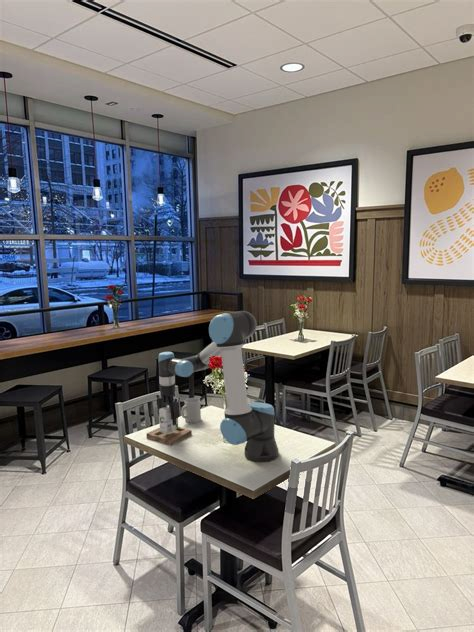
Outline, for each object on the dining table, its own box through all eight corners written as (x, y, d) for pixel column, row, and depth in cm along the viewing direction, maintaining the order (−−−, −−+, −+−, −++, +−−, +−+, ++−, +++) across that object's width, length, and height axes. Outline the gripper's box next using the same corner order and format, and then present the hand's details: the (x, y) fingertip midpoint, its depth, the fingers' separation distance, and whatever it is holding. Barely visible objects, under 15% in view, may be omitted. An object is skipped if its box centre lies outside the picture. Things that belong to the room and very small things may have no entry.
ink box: (171, 426, 229) (170, 403, 227) (178, 428, 226) (178, 405, 224) (159, 432, 222) (158, 408, 220) (166, 434, 219) (165, 410, 217)
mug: (193, 416, 252) (192, 396, 250) (204, 419, 246) (203, 399, 245) (176, 422, 243) (176, 402, 241) (187, 425, 237) (187, 405, 236)
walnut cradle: (191, 434, 226) (191, 430, 225) (170, 445, 214) (170, 440, 213) (168, 427, 235) (168, 423, 235) (146, 437, 223) (146, 433, 223)
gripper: (186, 384, 218) (188, 431, 222) (159, 379, 229) (161, 423, 232) (175, 388, 212) (177, 436, 216) (148, 382, 223) (150, 428, 226)
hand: (169, 429), depth 224 cm, fingers closed on ink box, 5 cm apart
